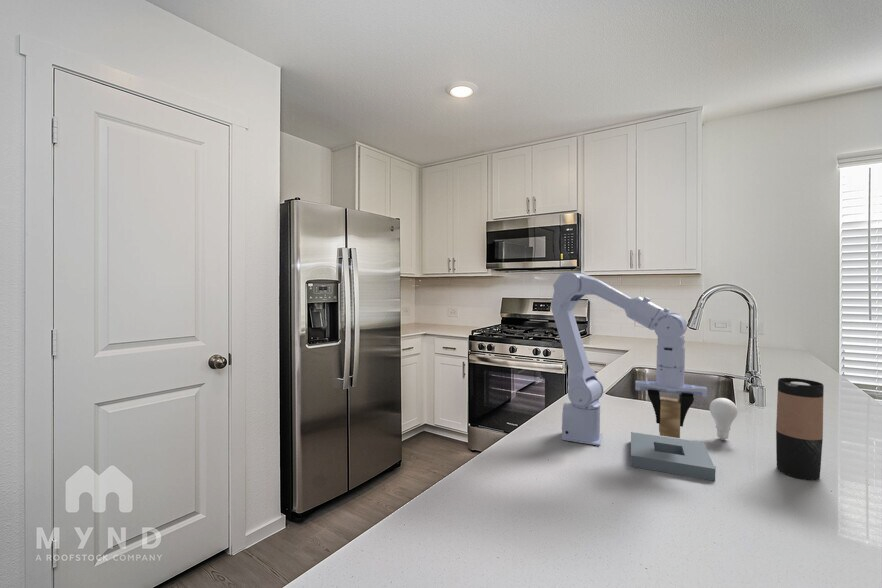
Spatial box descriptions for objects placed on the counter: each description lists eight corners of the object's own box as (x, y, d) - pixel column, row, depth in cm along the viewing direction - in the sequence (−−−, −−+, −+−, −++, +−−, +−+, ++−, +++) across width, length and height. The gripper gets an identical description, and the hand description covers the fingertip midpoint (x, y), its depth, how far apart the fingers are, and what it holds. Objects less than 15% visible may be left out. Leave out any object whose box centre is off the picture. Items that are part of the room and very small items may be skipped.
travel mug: (810, 468, 92) (812, 379, 92) (829, 483, 85) (832, 387, 85) (769, 463, 95) (771, 376, 94) (784, 478, 88) (786, 384, 87)
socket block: (630, 466, 93) (631, 455, 93) (630, 441, 107) (631, 432, 107) (715, 480, 86) (715, 469, 86) (703, 452, 101) (703, 442, 101)
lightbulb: (741, 445, 106) (742, 402, 105) (714, 443, 107) (715, 400, 107) (730, 436, 112) (730, 395, 111) (704, 434, 113) (705, 394, 113)
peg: (659, 435, 96) (660, 401, 95) (658, 430, 99) (659, 396, 99) (679, 438, 94) (680, 403, 94) (678, 432, 98) (678, 398, 97)
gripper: (636, 366, 96) (635, 424, 96) (710, 372, 90) (708, 434, 90) (635, 360, 102) (634, 415, 102) (704, 366, 96) (703, 424, 96)
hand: (669, 423), depth 97 cm, fingers closed on peg, 4 cm apart
